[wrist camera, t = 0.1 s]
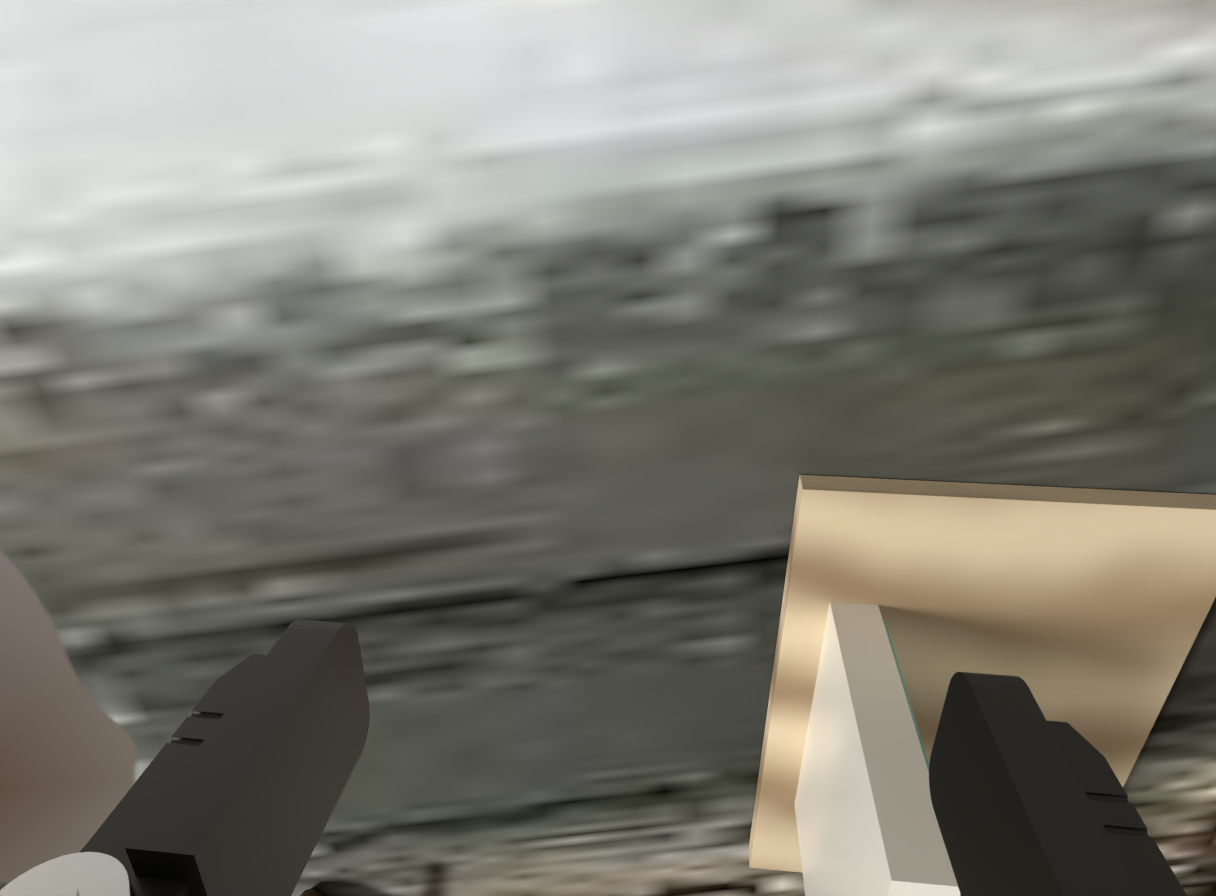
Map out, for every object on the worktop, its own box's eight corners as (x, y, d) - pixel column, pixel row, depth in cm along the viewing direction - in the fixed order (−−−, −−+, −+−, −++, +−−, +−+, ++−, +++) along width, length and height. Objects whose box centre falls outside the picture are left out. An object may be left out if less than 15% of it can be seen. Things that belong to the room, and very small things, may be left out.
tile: (829, 601, 30) (891, 880, 20) (884, 605, 30) (973, 888, 20) (794, 804, 36) (829, 1094, 26) (840, 808, 36) (892, 1101, 26)
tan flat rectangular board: (799, 474, 28) (802, 489, 28) (1239, 495, 27) (1257, 512, 26) (748, 848, 39) (749, 867, 38) (1060, 876, 38) (1069, 897, 37)
